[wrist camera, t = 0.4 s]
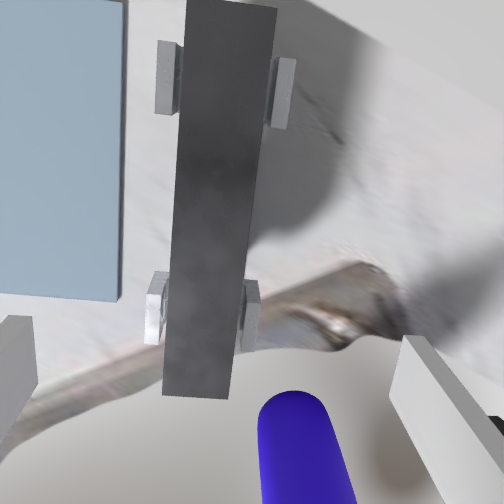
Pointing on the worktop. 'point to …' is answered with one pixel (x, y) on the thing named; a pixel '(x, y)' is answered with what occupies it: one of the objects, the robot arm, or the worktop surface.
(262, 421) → the bottle
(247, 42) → the rail
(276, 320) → the worktop surface
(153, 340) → the standards
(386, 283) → the worktop surface
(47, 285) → the mat
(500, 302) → the worktop surface
